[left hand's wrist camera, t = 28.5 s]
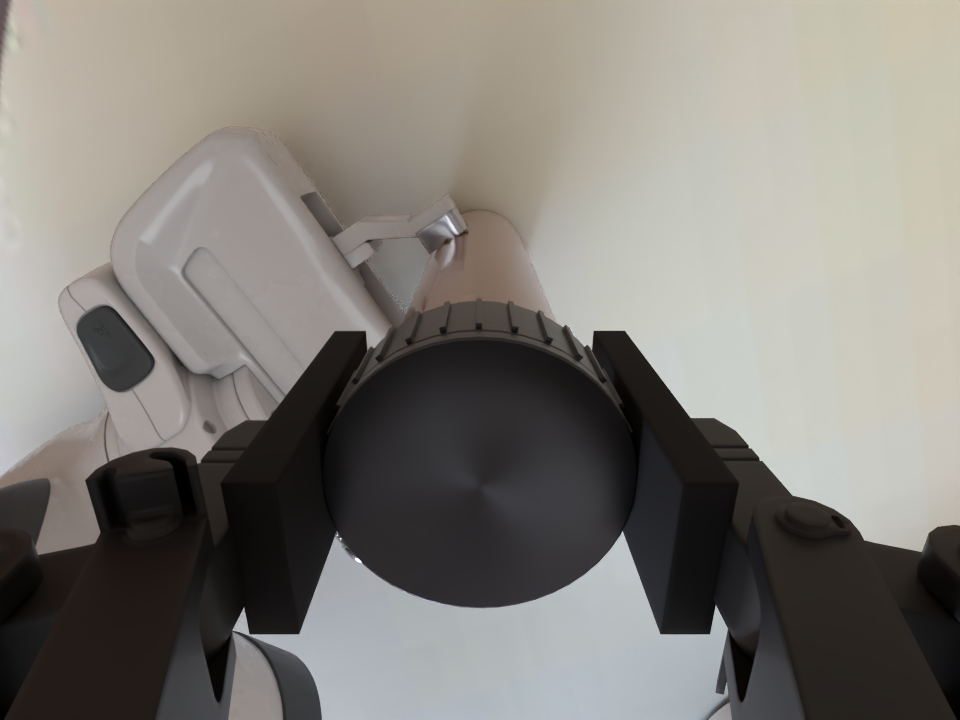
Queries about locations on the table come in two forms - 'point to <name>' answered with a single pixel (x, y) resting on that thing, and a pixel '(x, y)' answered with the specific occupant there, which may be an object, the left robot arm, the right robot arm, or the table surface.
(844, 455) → the table surface
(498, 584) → the lid
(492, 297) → the brown cylinder
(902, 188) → the table surface
